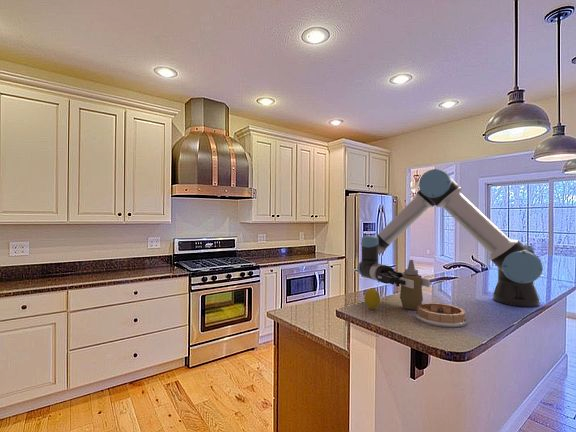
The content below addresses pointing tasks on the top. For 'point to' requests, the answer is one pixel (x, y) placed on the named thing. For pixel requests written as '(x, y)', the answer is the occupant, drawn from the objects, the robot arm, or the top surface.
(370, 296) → the lemon
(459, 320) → the flange seat
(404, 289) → the squeeze bottle
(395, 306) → the top surface
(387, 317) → the top surface
